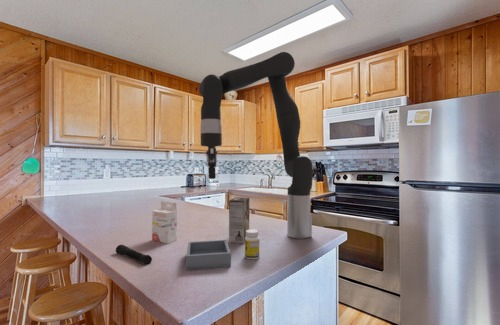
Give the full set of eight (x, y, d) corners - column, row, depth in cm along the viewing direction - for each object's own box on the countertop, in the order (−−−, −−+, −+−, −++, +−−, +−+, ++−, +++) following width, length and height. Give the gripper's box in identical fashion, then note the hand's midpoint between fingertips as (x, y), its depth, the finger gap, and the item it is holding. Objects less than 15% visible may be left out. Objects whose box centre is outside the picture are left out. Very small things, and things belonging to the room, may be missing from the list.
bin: (226, 251, 84) (226, 239, 84) (230, 266, 72) (230, 253, 72) (188, 254, 82) (188, 242, 82) (186, 270, 69) (186, 256, 69)
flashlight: (124, 252, 84) (124, 243, 84) (152, 263, 75) (152, 254, 75) (115, 254, 82) (115, 245, 82) (143, 267, 72) (143, 257, 72)
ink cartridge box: (151, 240, 96) (151, 202, 96) (160, 237, 100) (161, 201, 100) (168, 243, 92) (168, 204, 92) (177, 240, 96) (177, 202, 96)
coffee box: (234, 235, 103) (234, 197, 103) (249, 236, 102) (249, 197, 102) (228, 242, 94) (228, 200, 94) (244, 243, 93) (245, 200, 93)
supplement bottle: (244, 254, 82) (244, 229, 82) (258, 254, 82) (258, 228, 82) (245, 260, 77) (245, 233, 77) (260, 259, 77) (260, 232, 77)
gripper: (223, 130, 82) (223, 179, 82) (220, 135, 96) (221, 176, 96) (200, 130, 81) (200, 179, 81) (200, 135, 95) (201, 177, 95)
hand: (211, 177), depth 89 cm, fingers open, 8 cm apart
